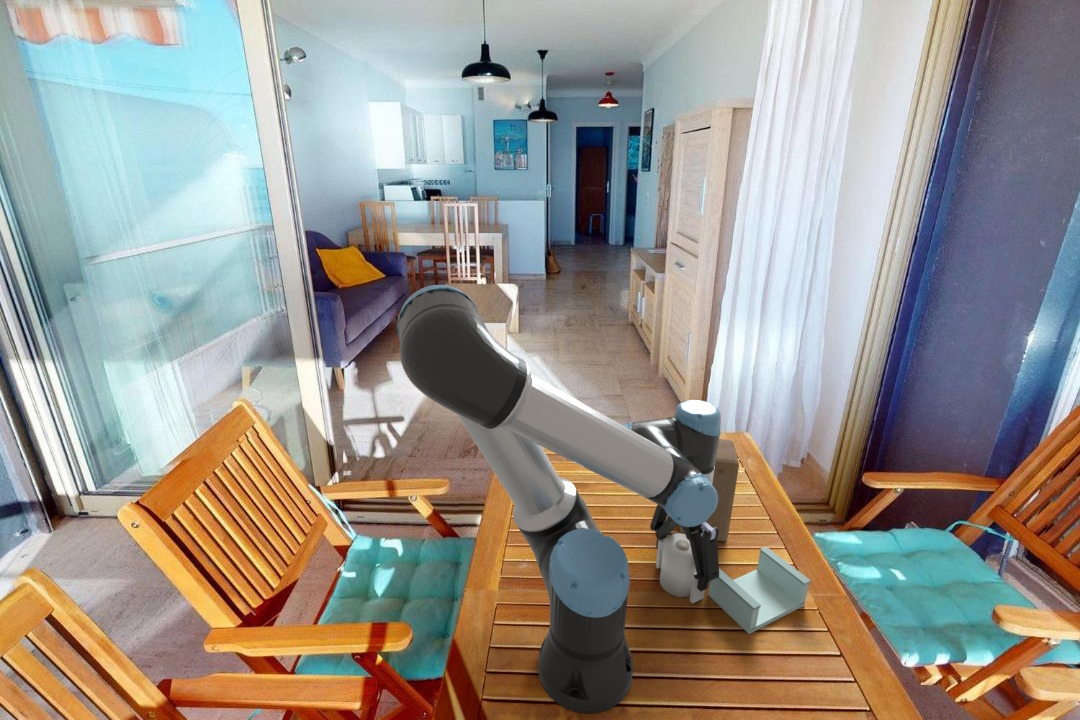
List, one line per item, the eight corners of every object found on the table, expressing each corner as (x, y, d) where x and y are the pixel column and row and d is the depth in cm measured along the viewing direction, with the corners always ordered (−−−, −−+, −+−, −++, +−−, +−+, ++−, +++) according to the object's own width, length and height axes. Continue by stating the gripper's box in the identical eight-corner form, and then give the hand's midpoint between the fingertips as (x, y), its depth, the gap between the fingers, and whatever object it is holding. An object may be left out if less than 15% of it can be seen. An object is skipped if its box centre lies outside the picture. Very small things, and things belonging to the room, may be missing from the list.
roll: (675, 601, 103) (680, 562, 100) (652, 577, 109) (656, 539, 105) (704, 588, 106) (710, 550, 103) (680, 565, 112) (684, 528, 108)
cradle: (749, 634, 96) (754, 608, 94) (707, 594, 105) (711, 569, 102) (804, 606, 102) (810, 580, 100) (761, 570, 111) (765, 546, 108)
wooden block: (727, 544, 118) (740, 463, 110) (679, 537, 120) (688, 457, 112) (722, 515, 127) (734, 438, 120) (678, 509, 129) (686, 434, 121)
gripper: (753, 512, 92) (735, 615, 100) (667, 450, 110) (658, 541, 118) (718, 525, 88) (703, 630, 97) (636, 459, 107) (629, 553, 115)
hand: (678, 581), depth 107 cm, fingers open, 9 cm apart
